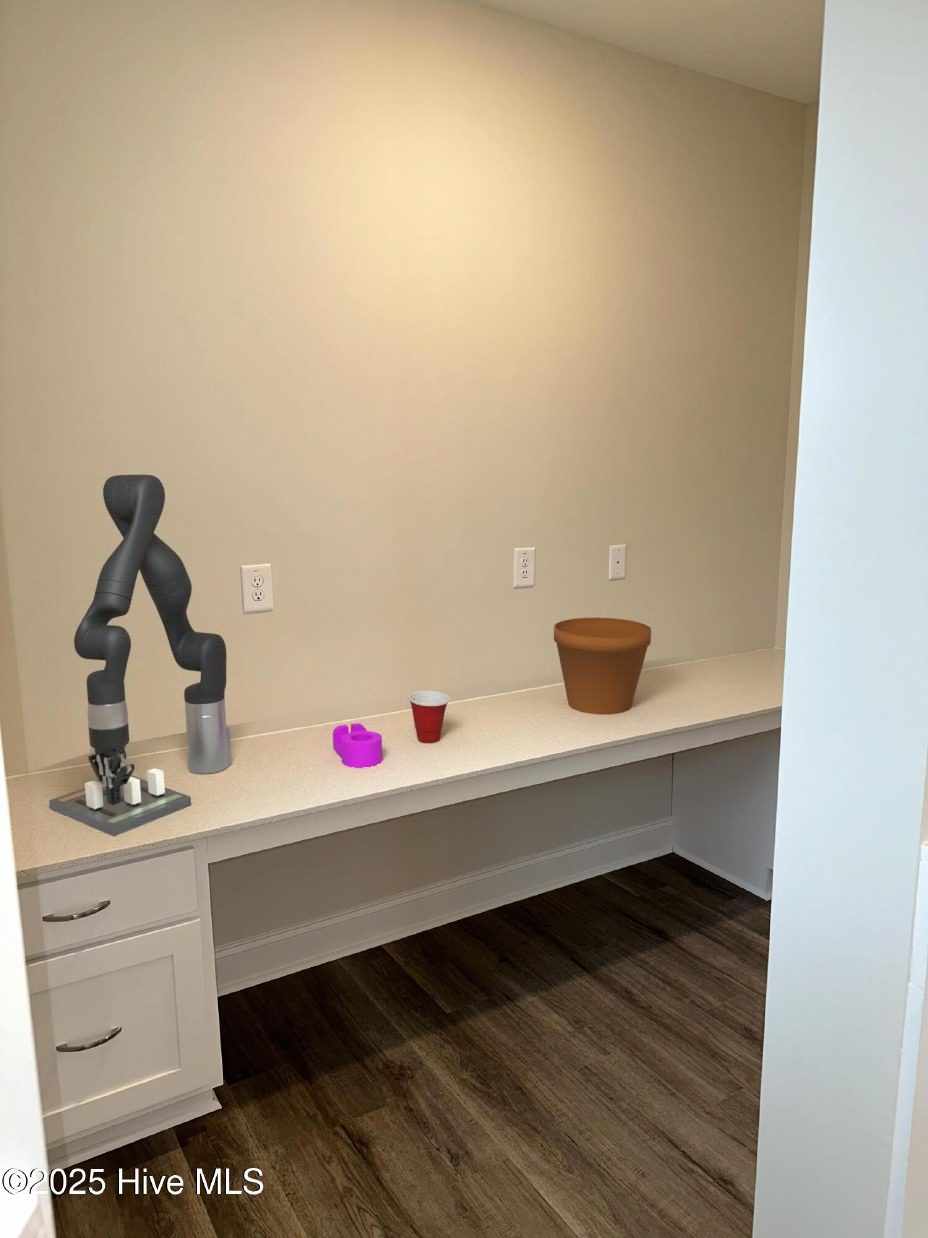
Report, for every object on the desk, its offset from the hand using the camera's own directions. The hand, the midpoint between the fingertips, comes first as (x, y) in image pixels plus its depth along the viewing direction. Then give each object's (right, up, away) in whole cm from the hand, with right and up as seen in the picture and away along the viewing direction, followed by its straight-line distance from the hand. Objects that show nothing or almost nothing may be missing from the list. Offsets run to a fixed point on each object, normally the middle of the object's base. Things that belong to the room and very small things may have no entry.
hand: (114, 803), depth 188 cm
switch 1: (-6, -2, +5) cm, 8 cm away
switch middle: (+1, -1, +7) cm, 7 cm away
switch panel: (-2, -3, +10) cm, 11 cm away
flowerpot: (+112, +12, +84) cm, 140 cm away
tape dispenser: (+45, +3, +41) cm, 61 cm away
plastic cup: (+63, +6, +53) cm, 82 cm away
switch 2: (+5, 0, +12) cm, 13 cm away
